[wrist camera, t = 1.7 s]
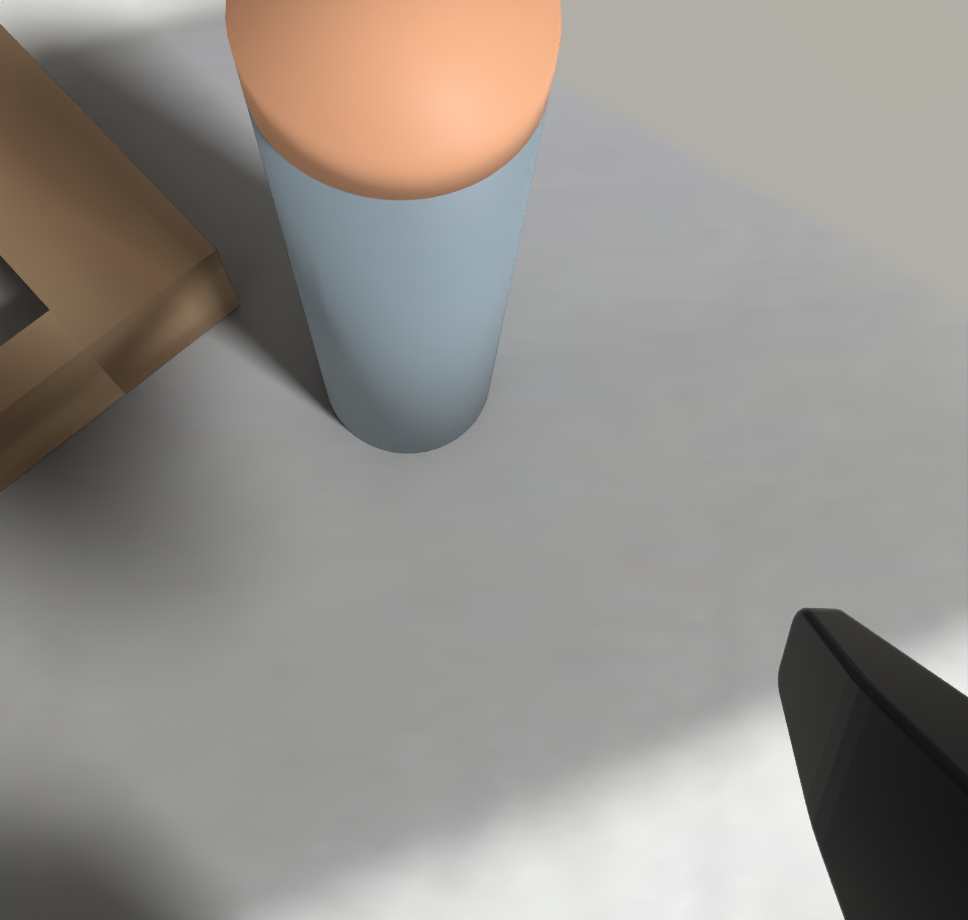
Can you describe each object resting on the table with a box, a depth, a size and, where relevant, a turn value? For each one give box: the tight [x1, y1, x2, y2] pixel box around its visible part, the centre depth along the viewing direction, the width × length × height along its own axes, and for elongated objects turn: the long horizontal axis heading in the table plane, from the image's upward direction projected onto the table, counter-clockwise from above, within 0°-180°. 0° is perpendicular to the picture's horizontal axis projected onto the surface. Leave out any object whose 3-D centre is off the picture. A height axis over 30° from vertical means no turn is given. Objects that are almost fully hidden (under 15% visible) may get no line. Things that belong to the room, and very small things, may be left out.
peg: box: [225, 0, 562, 453], centre depth 18 cm, size 4×4×13 cm
